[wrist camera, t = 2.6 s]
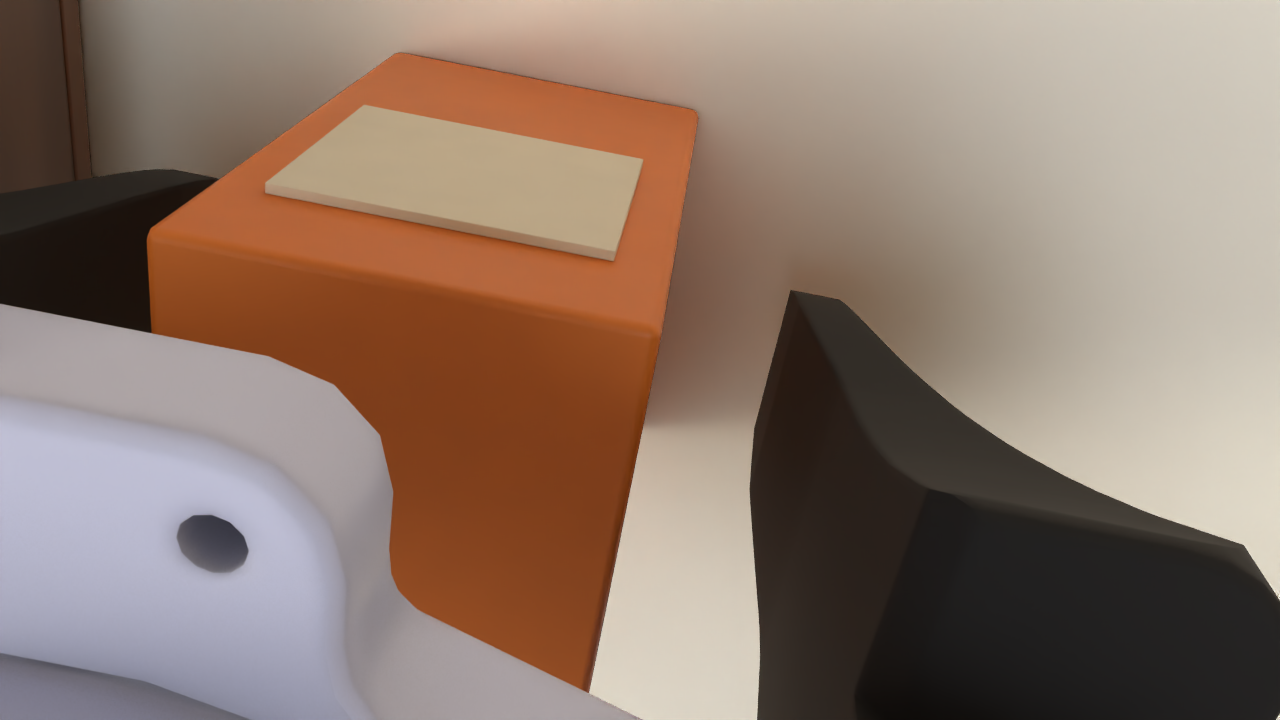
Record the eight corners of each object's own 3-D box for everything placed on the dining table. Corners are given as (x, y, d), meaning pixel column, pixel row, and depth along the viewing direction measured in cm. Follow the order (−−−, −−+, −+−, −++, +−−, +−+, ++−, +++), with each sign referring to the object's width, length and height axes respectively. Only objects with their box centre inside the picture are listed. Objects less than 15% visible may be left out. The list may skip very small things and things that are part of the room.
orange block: (701, 101, 14) (665, 319, 8) (636, 433, 16) (570, 783, 10) (395, 41, 14) (139, 215, 8) (375, 382, 16) (166, 703, 10)
